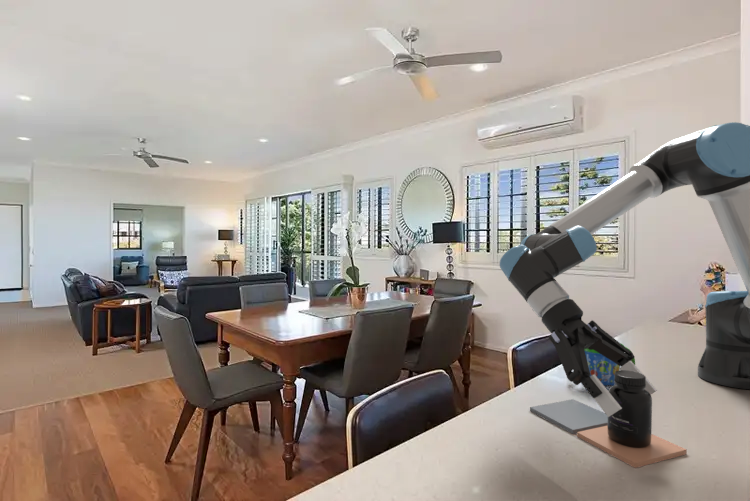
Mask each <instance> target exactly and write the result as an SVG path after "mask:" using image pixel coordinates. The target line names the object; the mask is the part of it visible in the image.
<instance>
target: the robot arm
mask: <svg viewBox="0 0 750 501" xmlns="http://www.w3.org/2000/svg"><path fill="white" fill-rule="evenodd" d="M691 185H692V188H693V190H694V192H695V194H696V196H697V198H701V199H703V200H706V201H707V202H708V204H709V206H710V209H711V211H712V213H713V215H714V217H715V219H716V222H717V224H718V227H719V229H720V232H721V234H722V236H723V238H724V240H725V243H726V245H727V248H728V249H729V252H730V254H731V257H732V259H733V260H734V264H735V266H736V268H737V271H738V272H739V275H740V277H741V280H742V282H743V285H744V287H745V288H746V290H726V291H724V290H723V291H711V292H708V294H707V295H706V299H705V300H706V302H705V305H704V307H705V348H704V351H703V353H702V356H701V357H700V360H699V363H698V364H697V376H698V377H699V378H701V379H702V380H705V381H707V382H709V383H712V384H716V385H720V386H724V387H730V388H734V389H735V388H736V389H741V390H750V125H749V124H745V123H742V122H736V121H735V122H726V123H723V124H722V123H721V124H715V125H712V126H708V127H706V128H704V129H701V130H697V131H694V132H692V133H688V134H686V135H683V136H679V137H676V138H674V139H672V140H669V141H668V142H666V143H664V144H663V145H661V146H660V147H658V148H656V150H654V151H652V152H651V153H650V154H648V155H647V156H645V157H644V158H642V159H641V160H640V161H638V162H636V163H635V164H633V165H632V166H631V167H630V168H629V171H628V174H626V175H625V176H623V177H622V178H620V179H618V180H616V181H615V182H614V183H612V184H610V185H609V186H607V187H606V188H604V189H603V190H602V191H600V192H598V193H597V194H595V195H594V196H593V197H591V198H589V199H588V200H586V201H585V202H583V203H581V205H579V206H577V207H576V208H574V209H572V210H571V211H570V212H568V213H566V214H565V215H564V216H562V217H560V218H559V219H557V220H556V221H555V222H553V223H551V224H550V225H548V226H547V227H545V228H543V229H542V230H541V231H539V232H538V233H533V234H530V235H528V236H526V237H524V238H523V239H522V240H521V242H520V244H519V245H515V246H513V247H511V248H510V249H508V250H507V251H506V252H505V253H504V254H502V257H501V258H500V260H499V267H500V269H501V271H502V272H503V274H504V275H505V276H506V279H507V280H508V282H510V283H511V285H512V286H513V287H514V288H515V289H516V290H517V292H518V293H519V294H520V295H521V296H522V298H523V299H524V300H525V302H526V303H527V305H528V306H529V307H530V308H531V309H532V311H533V312H534V313H535V314H536V315H537V317H538V318H541V323H542V324H543V325H544V327H545V328H547V330H548V331H549V333H551V334H550V335H548V339H549V340H550V341H551V343H552V344H553V346H554V347H555V351H556V353H557V355H558V356H557V357H558V358H559V361H560V363H561V366H562V368H563V370H564V373H565V375H566V377H567V379H568V381H569V382H571V383H573V384H574V385H576V386H578V385H580V384H581V385H582V386H583V387H584V388H585V389H586V391H587V392H588V394H589V395H590V397H592V399H593V400H594V401H595V402H596V403H597V405H598V406H599V407H600V408H601V410H602V412H603V413H605V414H606V415H607V416H608V417H609V416H611V415H613V414H614V413H616V412H617V411H619V410H620V409H622V408H621V406H620V405H619V404H618V403H617V401H616V400H615V399H614V398H613V396H612V395H611V394H610V393H609V391H608V390H609V389H607V387H606V386H604V385H603V384H602V383H601V382H600V380H599V379H598V378H597V377H596V375H595V374H594V375H592V376H591V377H590V371H589V367H588V363H587V359H586V355H585V351H584V349H587V348H588V349H589V350H595V351H597V352H598V353H600V354H601V355H603V356H605V357H606V358H608V359H610V360H611V361H613V362H614V363H616V364H618V365H619V366H620V368H619V370H626V371H634V372H638V373H641V374H643V372H642V371H641V370H640V369H639V368H638V366H637V365H636V363H635V364H634V363H633V362H632V361H631V360H632V359H633V358H635V354H634V353H633V352H632V351H630V350H631V349H630V350H628V349H629V348H628V347H627V346H625V345H624V344H623V343H621V342H620V341H619V340H617V339H616V338H614V337H613V336H612V335H610V334H609V333H608V332H607V331H605V330H604V329H603V328H601V326H600V325H599V324H598V323H597V322H595V320H593V319H591V320H590V321H589V322H588V323H586V322H584V320H582V317H583V315H584V311H583V310H582V309H581V307H580V306H579V305H578V304H577V302H575V300H573V299H571V298H570V295H569V293H568V292H567V291H566V290H565V289H564V288H563V287H562V286H561V284H560V283H559V282H558V281H557V280H556V278H557V277H558V276H560V275H562V274H564V273H565V272H567V271H569V270H571V269H573V268H574V267H576V266H577V265H579V264H581V263H583V262H586V260H588V259H590V258H591V257H592V256H594V255H595V254H596V252H597V249H598V247H597V242H596V240H595V238H594V237H593V235H594V234H595V233H596V232H598V231H600V230H601V229H603V228H604V227H605V226H608V225H609V224H610V223H611V222H613V221H615V220H616V219H619V218H620V217H621V216H623V215H624V214H626V213H627V212H628V211H630V210H632V209H633V208H635V207H636V206H638V205H639V204H641V203H643V202H644V201H646V200H647V199H649V198H654V199H655V198H657V197H659V196H660V195H662V194H664V193H666V192H668V191H671V190H673V189H676V188H679V187H683V186H691ZM622 344H623V345H624V346H623V345H622ZM626 347H627V348H628V349H627V348H626ZM644 389H645V390H647V391H648V392H649V393H650V395H651V396H652V395H653V394H654V393H656V392H657V391H658V389H657V388H656V387H655V386H654V385H653V384H652V382H651V381H650V380H649V379H648V378H647V377H646V387H645V388H644Z"/></svg>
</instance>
